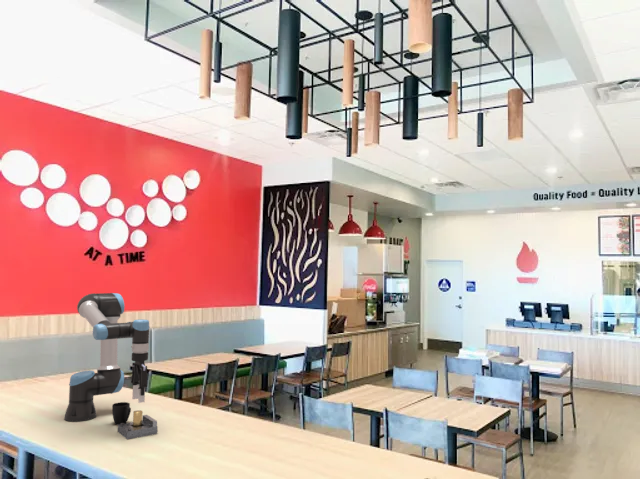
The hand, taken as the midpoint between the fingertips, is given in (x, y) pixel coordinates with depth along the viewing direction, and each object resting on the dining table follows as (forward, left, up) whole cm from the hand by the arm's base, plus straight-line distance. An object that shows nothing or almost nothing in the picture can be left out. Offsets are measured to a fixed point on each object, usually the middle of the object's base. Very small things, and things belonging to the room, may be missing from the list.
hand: (138, 400), depth 247 cm
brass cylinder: (0, 0, -15) cm, 15 cm away
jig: (0, 0, -15) cm, 15 cm away
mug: (-19, -1, -15) cm, 24 cm away
